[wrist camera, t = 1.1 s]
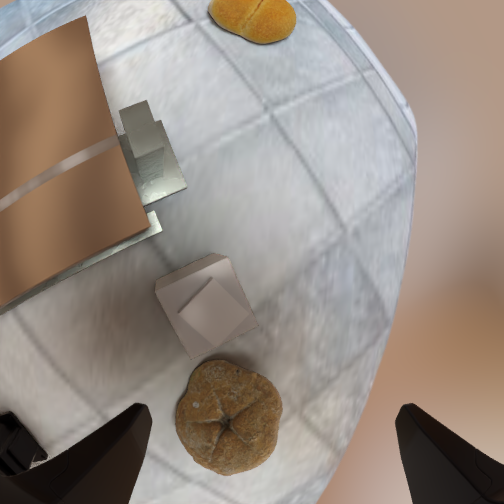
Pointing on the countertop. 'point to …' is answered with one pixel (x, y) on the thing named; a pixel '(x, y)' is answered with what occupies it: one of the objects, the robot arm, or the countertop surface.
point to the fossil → (228, 417)
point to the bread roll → (255, 18)
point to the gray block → (205, 304)
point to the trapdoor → (59, 163)
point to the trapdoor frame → (135, 180)
